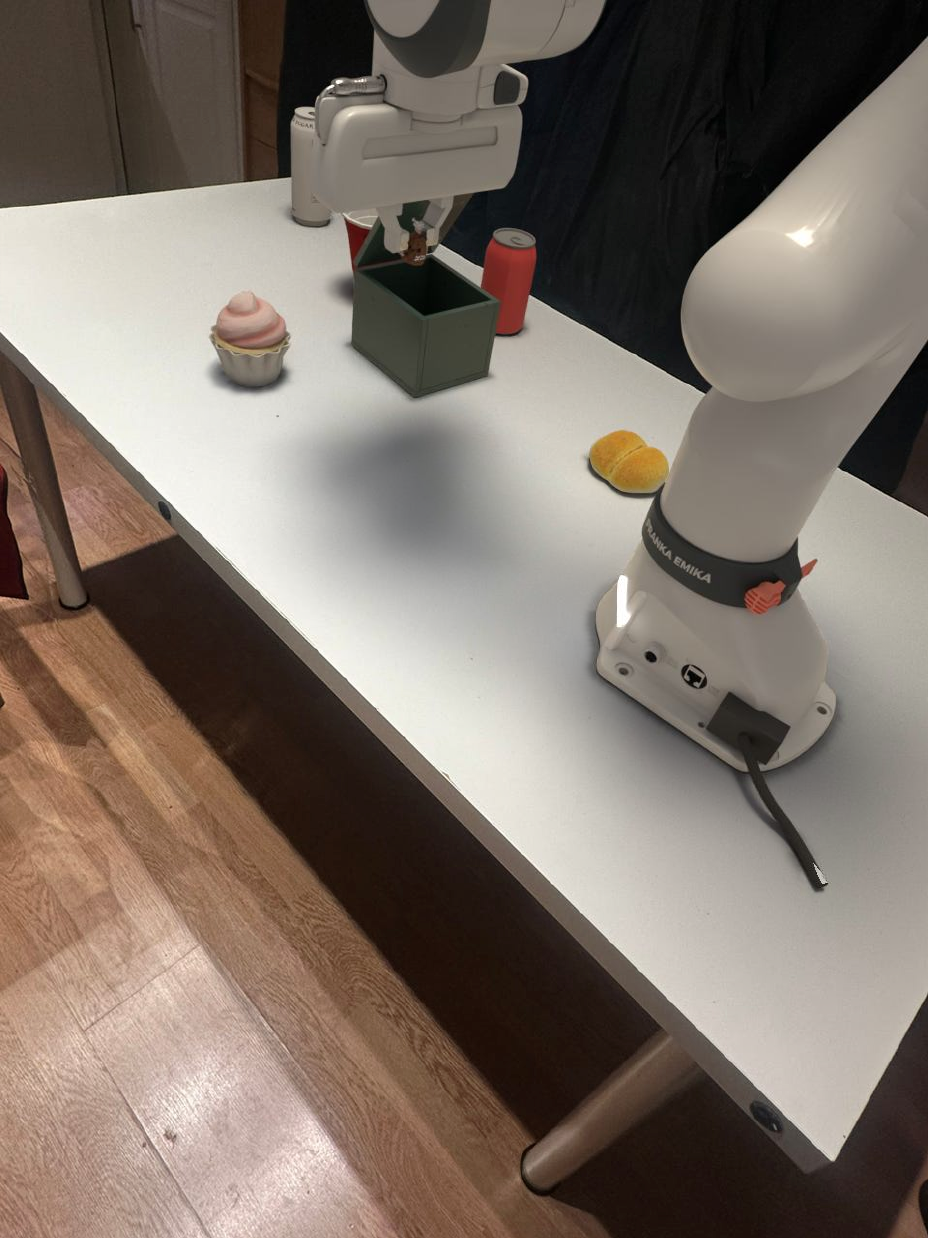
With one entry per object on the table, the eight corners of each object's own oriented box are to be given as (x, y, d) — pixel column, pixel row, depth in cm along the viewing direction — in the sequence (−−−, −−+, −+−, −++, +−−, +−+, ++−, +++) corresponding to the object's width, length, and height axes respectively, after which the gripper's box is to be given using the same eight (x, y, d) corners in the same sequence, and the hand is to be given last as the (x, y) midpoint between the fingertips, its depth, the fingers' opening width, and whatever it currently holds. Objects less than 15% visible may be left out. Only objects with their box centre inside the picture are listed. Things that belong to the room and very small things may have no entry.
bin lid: (488, 171, 90) (467, 130, 91) (403, 183, 85) (381, 139, 85) (433, 252, 103) (415, 216, 103) (355, 267, 97) (336, 229, 97)
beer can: (491, 339, 110) (506, 249, 102) (466, 316, 114) (479, 227, 105) (531, 333, 113) (549, 245, 105) (506, 310, 117) (521, 223, 108)
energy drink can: (310, 208, 132) (310, 102, 121) (338, 221, 130) (341, 115, 119) (283, 217, 128) (281, 109, 117) (312, 230, 126) (313, 121, 116)
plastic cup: (321, 297, 112) (323, 205, 103) (359, 269, 119) (363, 181, 111) (393, 321, 110) (400, 229, 101) (426, 292, 117) (436, 204, 109)
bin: (487, 375, 104) (501, 301, 97) (414, 397, 98) (422, 320, 91) (423, 326, 110) (431, 253, 103) (350, 344, 104) (354, 268, 97)
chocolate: (390, 258, 77) (394, 214, 74) (410, 255, 78) (414, 211, 75) (407, 272, 76) (411, 227, 73) (427, 269, 77) (432, 225, 74)
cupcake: (301, 392, 95) (300, 309, 88) (218, 397, 92) (211, 312, 85) (284, 350, 101) (283, 270, 94) (206, 354, 98) (198, 271, 91)
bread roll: (633, 506, 89) (644, 476, 86) (575, 462, 93) (584, 433, 90) (680, 482, 93) (692, 453, 91) (623, 441, 98) (632, 412, 95)
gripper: (340, 93, 59) (334, 280, 69) (543, 79, 70) (513, 244, 80) (293, 65, 62) (294, 249, 72) (495, 57, 73) (472, 218, 83)
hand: (410, 246), depth 76 cm, fingers closed on chocolate, 2 cm apart
